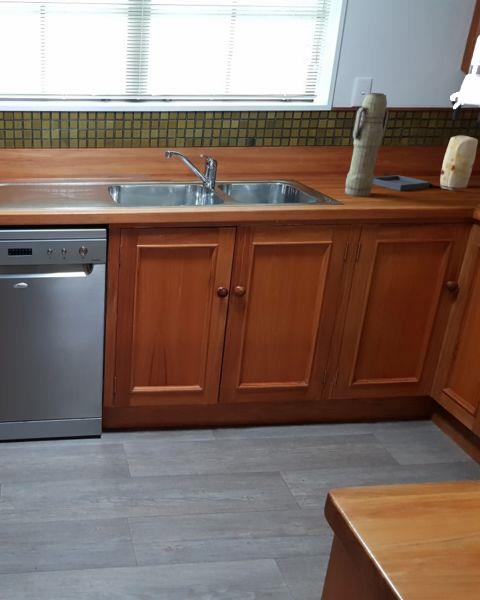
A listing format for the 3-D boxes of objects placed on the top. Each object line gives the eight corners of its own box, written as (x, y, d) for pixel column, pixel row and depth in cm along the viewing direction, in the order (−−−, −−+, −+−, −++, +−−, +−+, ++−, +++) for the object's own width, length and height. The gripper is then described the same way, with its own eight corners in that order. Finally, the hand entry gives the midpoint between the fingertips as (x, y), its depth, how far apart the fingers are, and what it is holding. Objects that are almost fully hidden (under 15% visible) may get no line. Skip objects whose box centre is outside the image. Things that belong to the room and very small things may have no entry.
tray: (428, 188, 234) (430, 182, 233) (399, 191, 228) (401, 185, 227) (396, 180, 246) (397, 175, 245) (368, 183, 240) (369, 177, 239)
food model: (465, 189, 232) (479, 136, 224) (466, 193, 226) (481, 138, 219) (436, 187, 236) (449, 134, 228) (437, 190, 230) (450, 136, 223)
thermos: (379, 195, 221) (400, 94, 207) (353, 197, 217) (373, 94, 203) (360, 190, 228) (380, 92, 215) (335, 192, 224) (353, 92, 211)
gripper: (512, 72, 209) (497, 124, 216) (465, 70, 223) (452, 118, 230) (498, 72, 206) (484, 124, 213) (451, 70, 220) (439, 119, 227)
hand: (467, 121), depth 221 cm, fingers open, 9 cm apart
